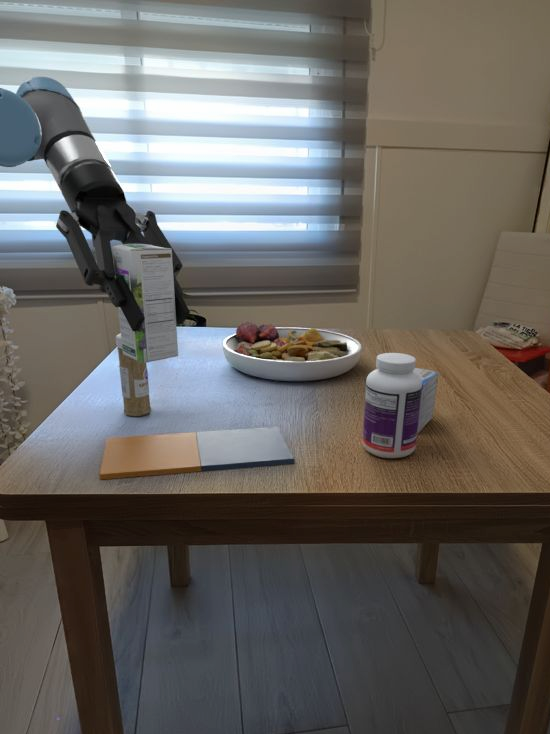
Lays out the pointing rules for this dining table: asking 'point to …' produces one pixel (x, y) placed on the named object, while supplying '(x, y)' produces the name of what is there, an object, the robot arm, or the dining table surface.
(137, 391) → the sprinkles bottle
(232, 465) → the sorting board
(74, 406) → the dining table surface
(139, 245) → the syrup box
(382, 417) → the pill bottle
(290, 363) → the bowl
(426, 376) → the medicine box
